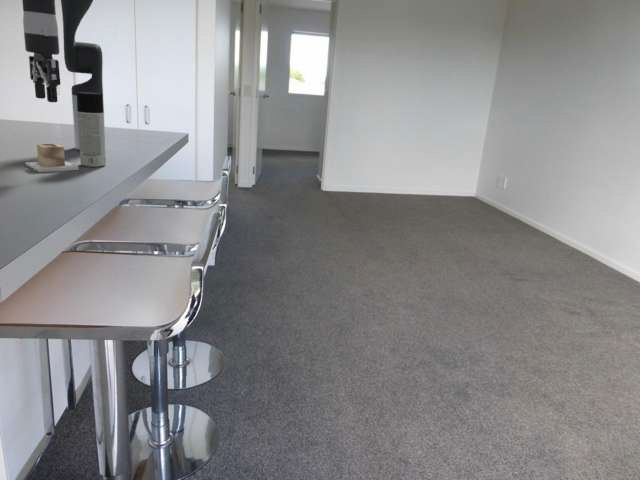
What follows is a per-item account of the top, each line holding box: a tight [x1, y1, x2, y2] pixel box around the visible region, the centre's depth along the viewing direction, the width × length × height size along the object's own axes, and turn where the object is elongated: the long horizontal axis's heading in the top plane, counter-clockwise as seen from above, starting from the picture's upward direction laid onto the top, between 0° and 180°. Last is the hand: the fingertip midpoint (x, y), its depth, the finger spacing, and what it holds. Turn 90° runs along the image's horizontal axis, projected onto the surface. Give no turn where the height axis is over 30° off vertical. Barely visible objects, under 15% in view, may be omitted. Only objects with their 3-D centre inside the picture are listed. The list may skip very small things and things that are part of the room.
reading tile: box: [25, 160, 80, 173], centre depth 135 cm, size 10×10×1 cm
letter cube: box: [36, 143, 66, 166], centre depth 134 cm, size 5×5×5 cm
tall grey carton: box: [77, 92, 107, 168], centre depth 140 cm, size 7×7×20 cm
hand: (46, 100), depth 130 cm, fingers open, 8 cm apart
